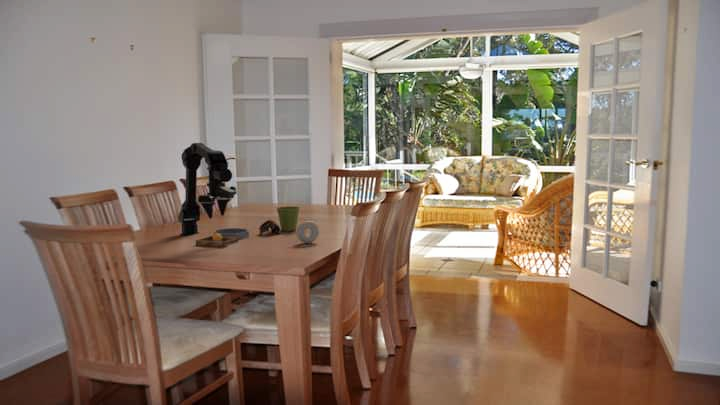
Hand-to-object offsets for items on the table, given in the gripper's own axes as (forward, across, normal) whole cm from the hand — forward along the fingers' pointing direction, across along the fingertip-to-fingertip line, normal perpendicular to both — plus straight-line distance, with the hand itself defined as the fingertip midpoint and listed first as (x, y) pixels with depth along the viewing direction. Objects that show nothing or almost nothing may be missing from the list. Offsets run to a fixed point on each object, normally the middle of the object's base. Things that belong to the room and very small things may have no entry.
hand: (216, 216), depth 257 cm
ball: (+11, 0, 0) cm, 11 cm away
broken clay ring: (+12, +29, -11) cm, 33 cm away
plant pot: (+12, +43, -13) cm, 46 cm away
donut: (+12, +15, -36) cm, 41 cm away
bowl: (+12, +15, +2) cm, 19 cm away
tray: (+12, 0, 0) cm, 12 cm away
